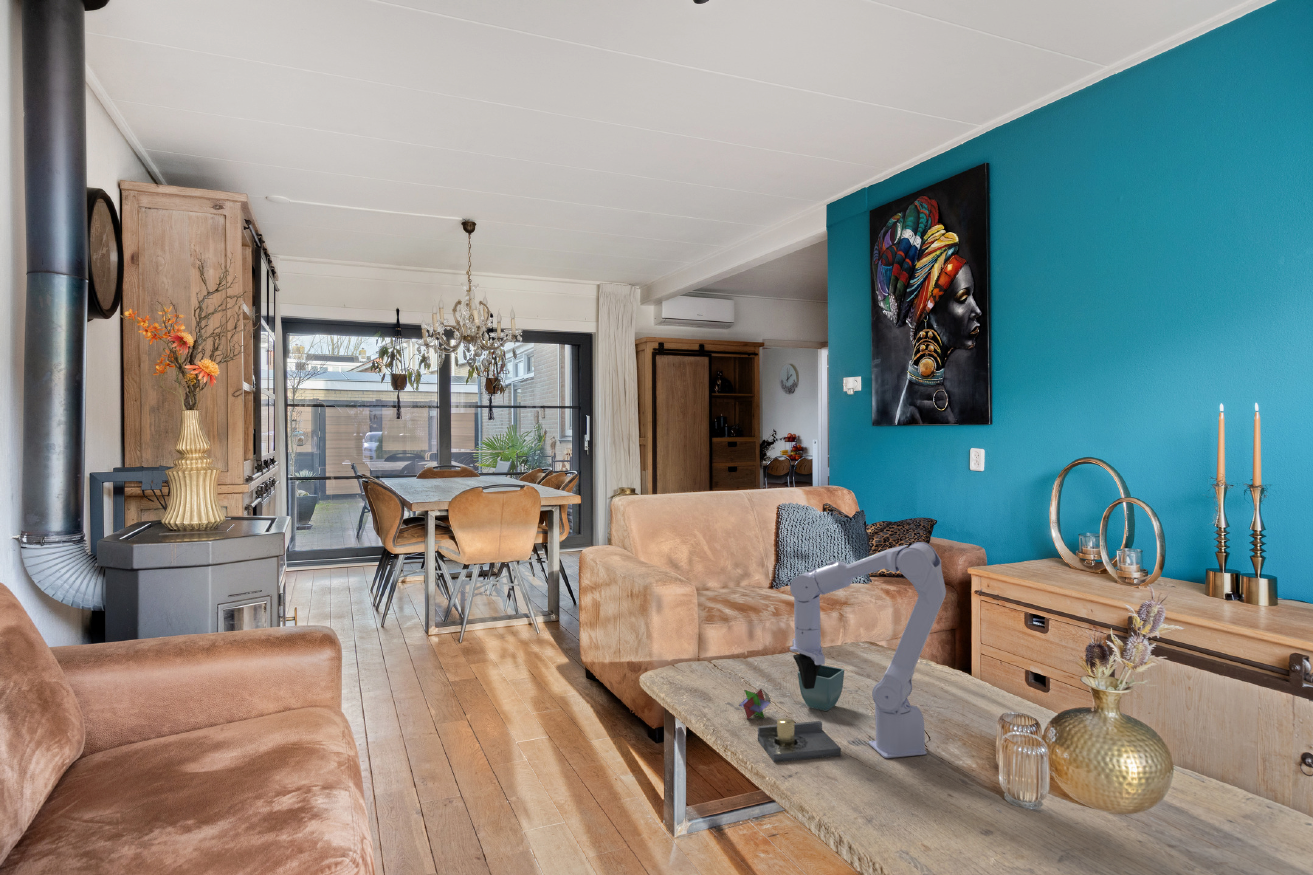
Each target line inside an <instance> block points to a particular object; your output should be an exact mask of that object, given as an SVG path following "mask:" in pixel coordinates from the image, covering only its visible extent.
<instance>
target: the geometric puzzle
mask: <svg viewBox="0 0 1313 875" xmlns="http://www.w3.org/2000/svg"><path fill="white" fill-rule="evenodd" d="M743 690H744V692H743V693H744V694H745V695H746V698H744V699H743V701H741V702H739V703H738V706H739V707H741V708H740V709H741V711H742V713H744V714H745V717H746V720H751V719H752V718H754V717H755V716H757V715H758V716H757V717H760V719H764V718H765V719H766V716H765V713H764V712H763V711H764V710H766V708H767V707H768V706H770V704H771V703H772V701H771V697H770V695H769V693H767V691H765V690H764V689H763V688H759V689H758V690H757V691H755V692H752V691H750V689H748V690H747V689H743ZM744 694H743V695H741V697H744ZM743 709H744V711H745V712H743Z"/></svg>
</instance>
